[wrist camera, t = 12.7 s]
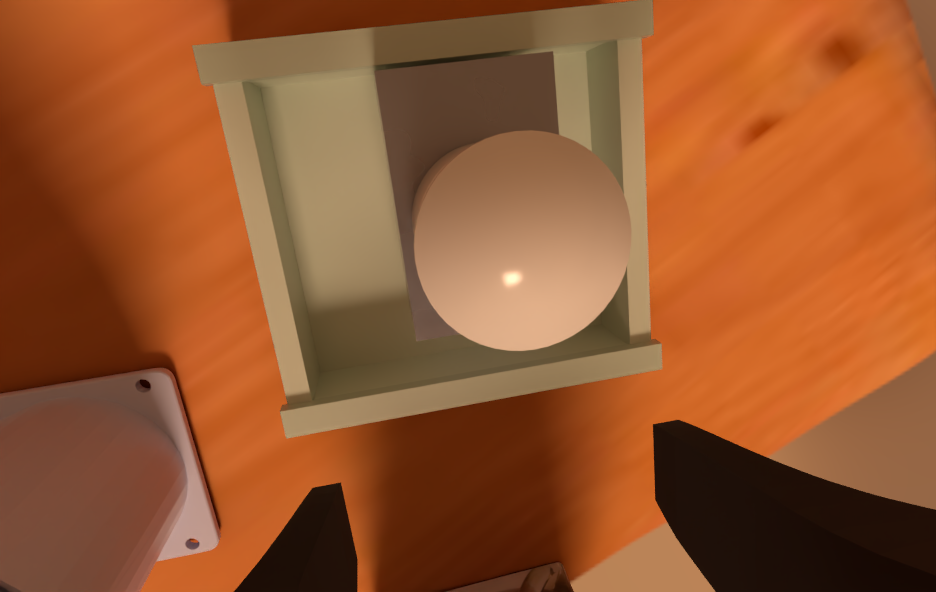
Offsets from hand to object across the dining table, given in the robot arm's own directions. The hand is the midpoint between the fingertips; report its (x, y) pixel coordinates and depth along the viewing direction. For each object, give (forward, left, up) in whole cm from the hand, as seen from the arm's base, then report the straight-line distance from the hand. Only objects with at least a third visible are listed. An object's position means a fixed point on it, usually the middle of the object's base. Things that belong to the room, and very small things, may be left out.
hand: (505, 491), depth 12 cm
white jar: (+1, +5, -5) cm, 7 cm away
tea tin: (+1, +6, -10) cm, 12 cm away
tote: (+1, +5, -10) cm, 11 cm away
